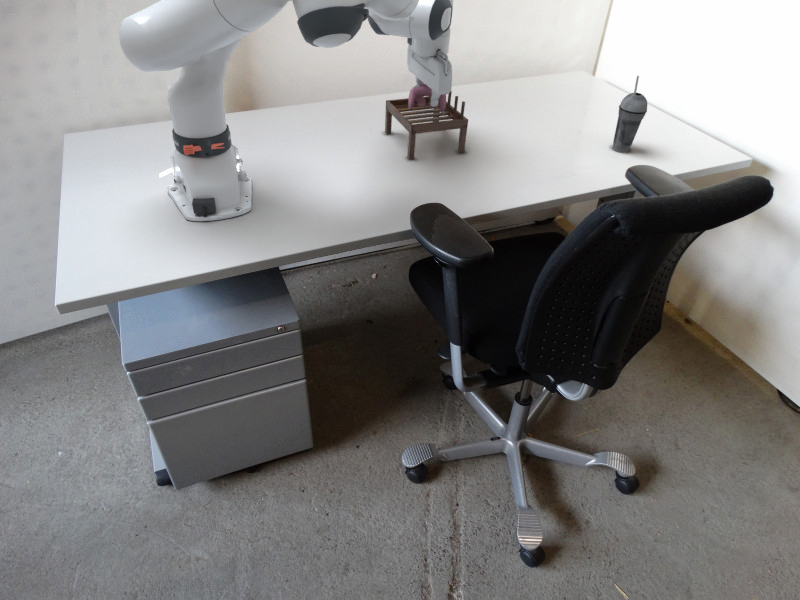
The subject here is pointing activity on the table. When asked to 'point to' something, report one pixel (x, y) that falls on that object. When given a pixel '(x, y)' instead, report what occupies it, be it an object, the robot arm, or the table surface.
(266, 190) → the table surface
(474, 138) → the table surface
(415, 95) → the video game controller
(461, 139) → the rack
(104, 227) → the table surface
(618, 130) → the beverage cup
